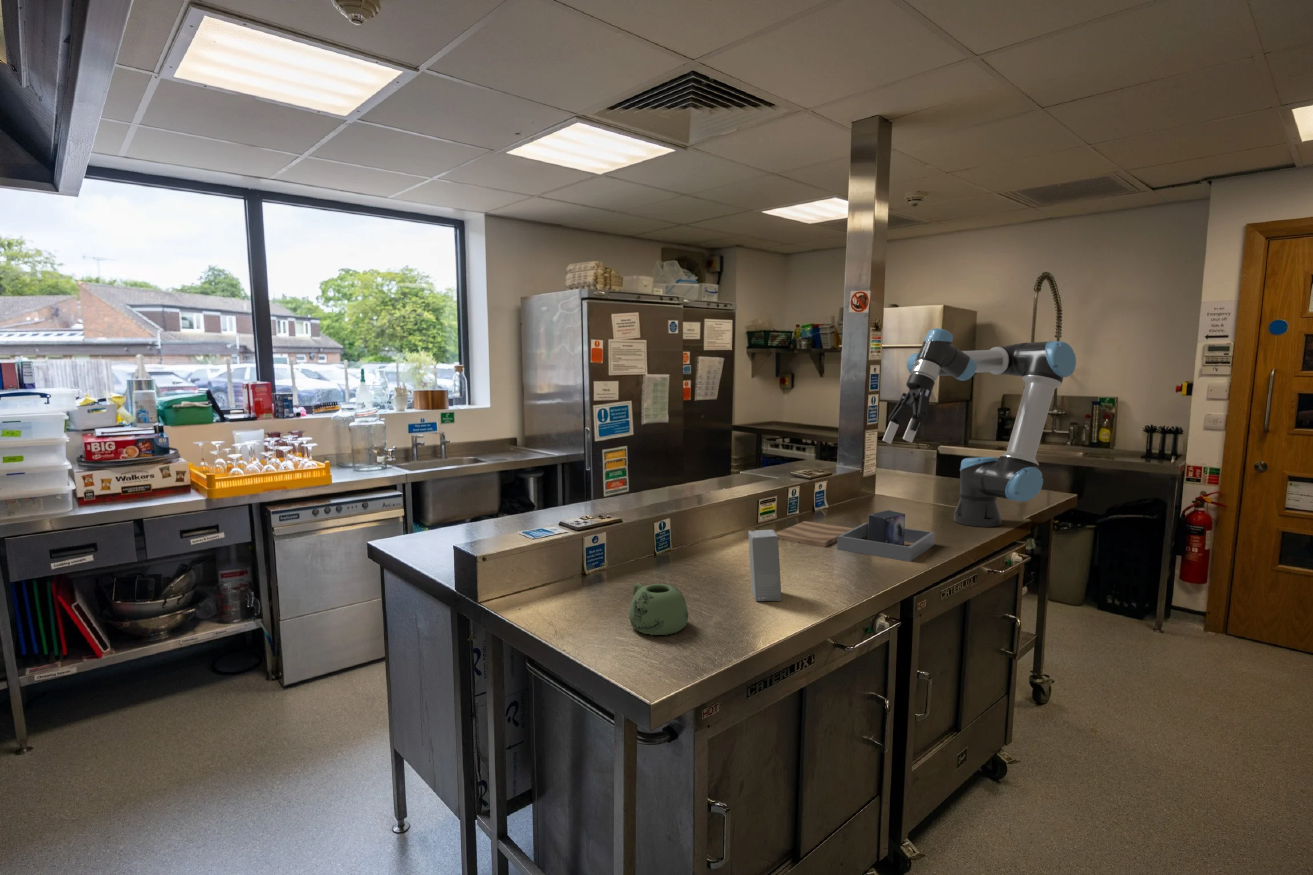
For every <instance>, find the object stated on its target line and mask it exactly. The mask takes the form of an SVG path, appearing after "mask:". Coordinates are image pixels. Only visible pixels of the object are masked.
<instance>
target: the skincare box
mask: <svg viewBox="0 0 1313 875" xmlns="http://www.w3.org/2000/svg"><path fill="white" fill-rule="evenodd" d="M747 533H748V550H749V551H748V553H749V568H750V569H749V570H750V572H749V573H750V589H751V590H750V591H751V593H752V596H753V598H754V600H755V601H756V602H765V601H766V602H768V601H769V602H770V601H771V602H773V601H774V602H776V601H777V602H779V601H780V602H781V601H782V585H781V582H782V581H781V569H780V568H781V567H780V549H779V548H780V547H779V539H778V536H777V534H776V533H777V532H775V530H774V529H760V530H748V532H747Z"/></svg>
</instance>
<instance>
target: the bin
mask: <svg viewBox="0 0 1313 875" xmlns="http://www.w3.org/2000/svg"><path fill="white" fill-rule="evenodd" d="M852 528H853V529H851V530H849V531H847V532H845V533H843V534H841V535H839V536H837V541H836V543H837V544H836V550H840V551H846V552H852V553H856V554H864V555H869V556H876V557H880V558H887V559H894V560H899V561H904V562H905V561H906V562H912V561H914V560H915V559H916V558H918V557H919V556H921V555H922V554H923V553H925V552H927V551H928V550H930V549H931V548H932V547H933V546H935V538H936V537H935V535H936V534H935V533H936V532H935V531H929V530H922V529H921V530H920V529H914V528H908V527H905V533H904V542H908V543H909V542H910V543H912V544H910V545H909V546H906V545H904V546H902V545H895V544H889V543H882V542H876V541H870V540H868V539H863V538H865V537H868V522H864V523H862V524H859V525H857V526H855V527H852Z"/></svg>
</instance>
